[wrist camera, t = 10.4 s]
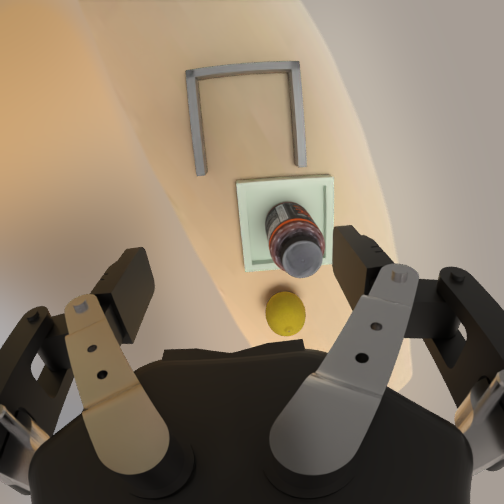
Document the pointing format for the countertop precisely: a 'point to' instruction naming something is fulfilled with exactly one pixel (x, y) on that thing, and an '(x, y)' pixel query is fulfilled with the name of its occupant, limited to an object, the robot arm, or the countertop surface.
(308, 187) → the tray
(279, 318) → the lemon
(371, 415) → the robot arm
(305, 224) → the supplement bottle
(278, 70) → the holder
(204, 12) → the countertop surface
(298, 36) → the countertop surface
